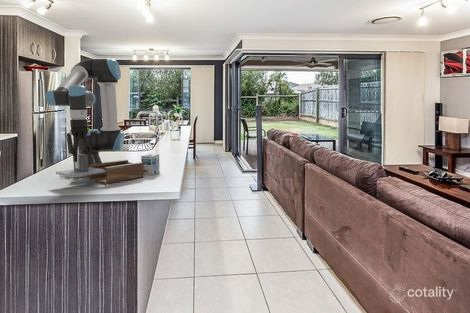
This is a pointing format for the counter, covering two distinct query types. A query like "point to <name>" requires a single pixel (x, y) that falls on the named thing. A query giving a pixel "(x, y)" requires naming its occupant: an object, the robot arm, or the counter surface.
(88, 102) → the robot arm
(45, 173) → the counter surface
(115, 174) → the walnut box
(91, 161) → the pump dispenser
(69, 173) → the cover plate
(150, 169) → the light bulb box
